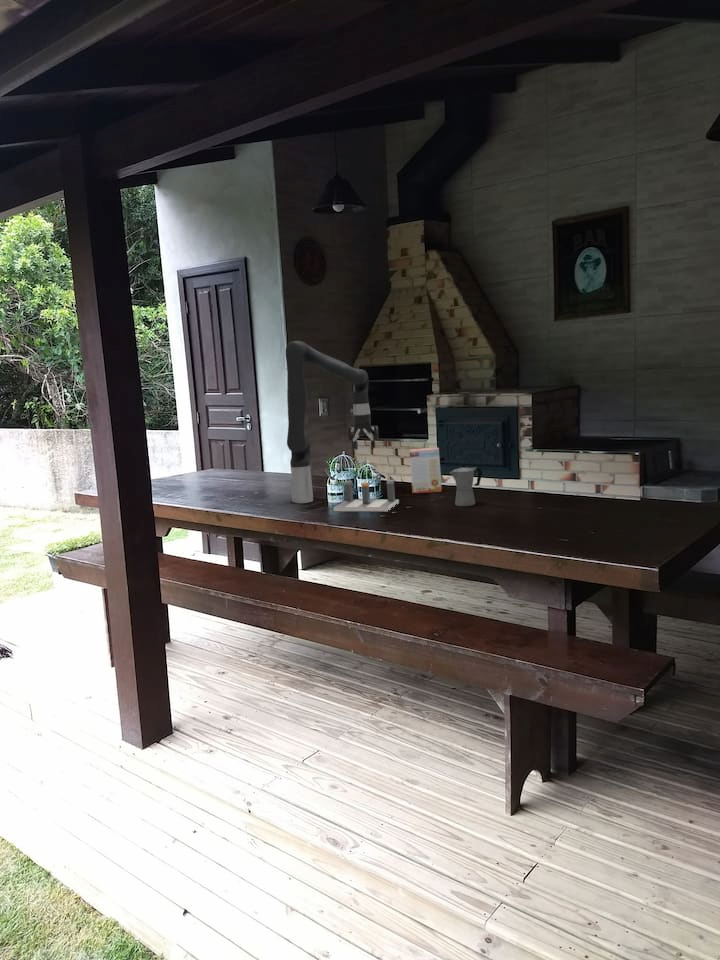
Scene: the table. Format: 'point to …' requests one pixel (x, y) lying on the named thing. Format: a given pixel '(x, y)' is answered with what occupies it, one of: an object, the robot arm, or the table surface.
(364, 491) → the breaker
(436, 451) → the cracker box
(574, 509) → the table surface
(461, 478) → the coffeepot
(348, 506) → the grey base with posts
